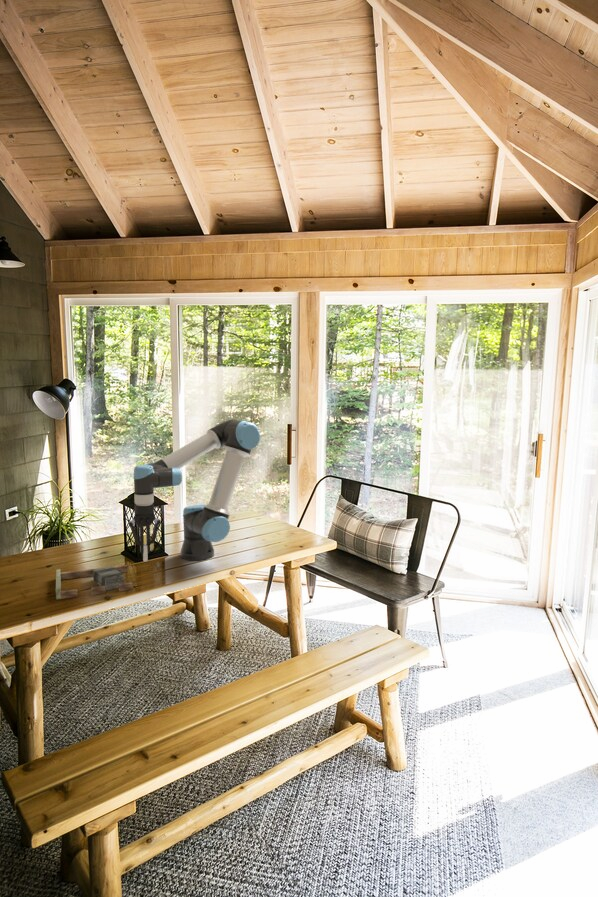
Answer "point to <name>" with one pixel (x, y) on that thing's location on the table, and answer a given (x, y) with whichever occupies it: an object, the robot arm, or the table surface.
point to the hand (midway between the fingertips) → (145, 560)
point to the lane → (85, 573)
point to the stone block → (108, 577)
